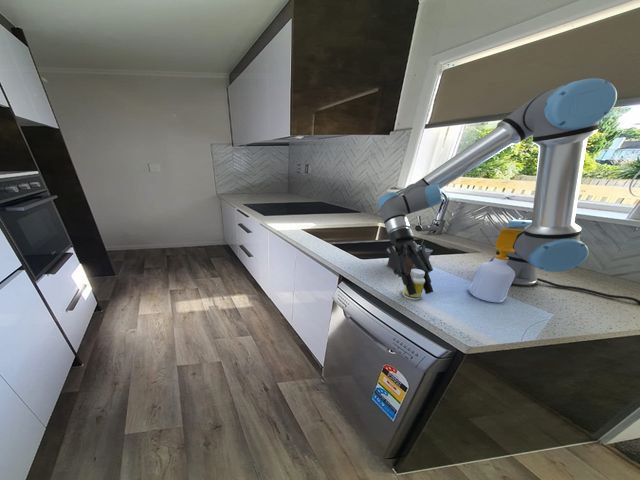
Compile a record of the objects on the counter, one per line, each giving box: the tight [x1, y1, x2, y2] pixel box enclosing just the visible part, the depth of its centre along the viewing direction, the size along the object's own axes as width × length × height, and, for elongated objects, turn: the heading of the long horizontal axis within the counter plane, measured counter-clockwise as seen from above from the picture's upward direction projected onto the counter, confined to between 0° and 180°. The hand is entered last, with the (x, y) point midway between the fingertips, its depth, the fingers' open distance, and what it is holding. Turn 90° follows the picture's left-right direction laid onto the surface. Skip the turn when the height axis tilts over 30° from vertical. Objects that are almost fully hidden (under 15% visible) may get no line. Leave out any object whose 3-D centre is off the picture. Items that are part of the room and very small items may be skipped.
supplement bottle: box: [402, 269, 425, 301], centre depth 83 cm, size 5×5×10 cm
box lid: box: [390, 245, 434, 255], centre depth 102 cm, size 11×11×1 cm
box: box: [386, 251, 432, 275], centre depth 104 cm, size 11×11×9 cm
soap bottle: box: [469, 227, 524, 303], centre depth 80 cm, size 9×9×25 cm
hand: (421, 293), depth 80 cm, fingers closed on supplement bottle, 5 cm apart
